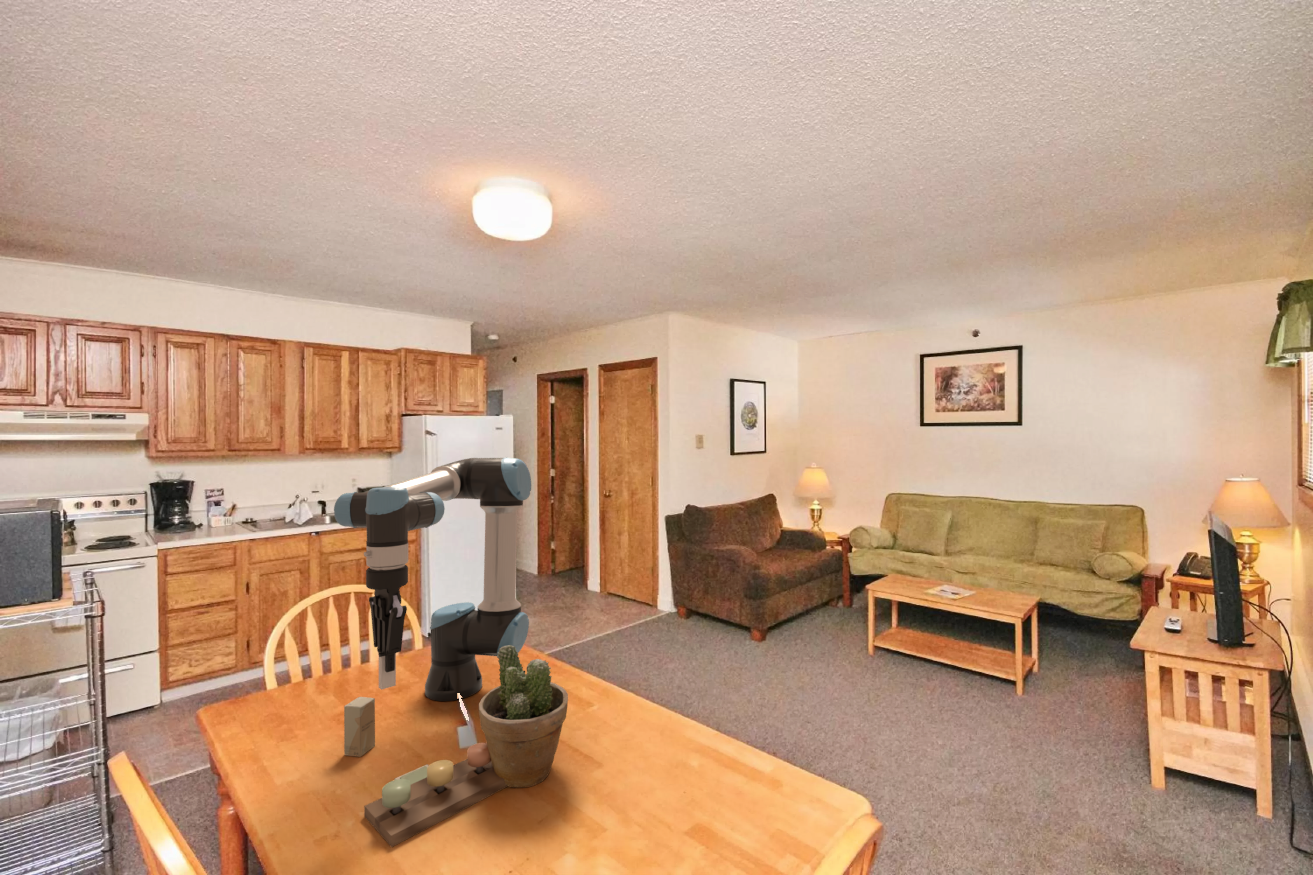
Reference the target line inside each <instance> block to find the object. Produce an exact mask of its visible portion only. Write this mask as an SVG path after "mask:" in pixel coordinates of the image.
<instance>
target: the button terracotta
mask: <svg viewBox="0 0 1313 875" xmlns="http://www.w3.org/2000/svg"><path fill="white" fill-rule="evenodd" d="M466 750H467V752H466V753H467V754H466V756H467V758H466V759H467V763H468V765H469V766H471V767H476V772H477V773H481V772H483V766H485V765H487V764H488V763H490V762H491V758H490V753H489V750H488V747H487V742H478V743H474V744H472V745H470V746H469V747H468V748H467V749H466Z"/></svg>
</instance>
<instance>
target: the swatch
mask: <svg viewBox="0 0 1313 875" xmlns="http://www.w3.org/2000/svg"><path fill="white" fill-rule="evenodd" d="M429 765H430V764H427V763H426V764H425V765H423V766H420V767H417V768H416V769H414V770H410V771H409V772H406V773H404V774H402V775H400V776H397V777H395V778H394V780H397V779H407V780H409V781H410V785H411V784H413V783H415V782H418V781H420V780H422V779H424V778H426V777H427V768H428V766H429Z"/></svg>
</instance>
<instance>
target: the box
mask: <svg viewBox="0 0 1313 875" xmlns="http://www.w3.org/2000/svg"><path fill="white" fill-rule="evenodd" d="M375 702H376V698H374V697H366V696H358V697H356V698H355V699H353V700H351V701H350V702H349V703H347V704H345V705H344V707H343V711H344V712H343V715H344V716H343V718H344V722H343V725H344V726H343V727H344V730H343V731H344V732H343V736H344V737H343V738H344V739H343V740H344V743H343V744H344V746H343V747H344V749H343V750H344V756H349V757H350V756H351V757H362V756H363V755H365V754H366V753H368V752H369V751H370V750H371V749H373V748H374V747H375V746H376V703H375Z"/></svg>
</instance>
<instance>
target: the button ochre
mask: <svg viewBox="0 0 1313 875" xmlns="http://www.w3.org/2000/svg"><path fill="white" fill-rule="evenodd" d="M428 765H429V766H428V768H427V783H428V785H430V786H434V787H437V792H443V791H444V785H445V784H447V783H449V782H450V781H451V780H452V779H453V765H454V762H453V761H451V760H450V759H449V760H448V759H441V760H436V761H433V762H432V763H430V764H428Z"/></svg>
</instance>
